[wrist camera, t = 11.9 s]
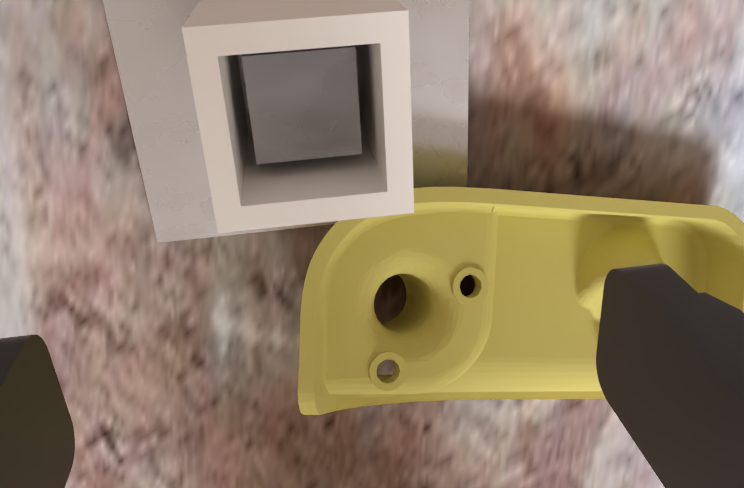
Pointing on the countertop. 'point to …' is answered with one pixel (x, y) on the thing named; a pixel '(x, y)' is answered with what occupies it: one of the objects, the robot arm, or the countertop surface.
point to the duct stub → (281, 105)
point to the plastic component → (491, 293)
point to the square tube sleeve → (311, 176)
